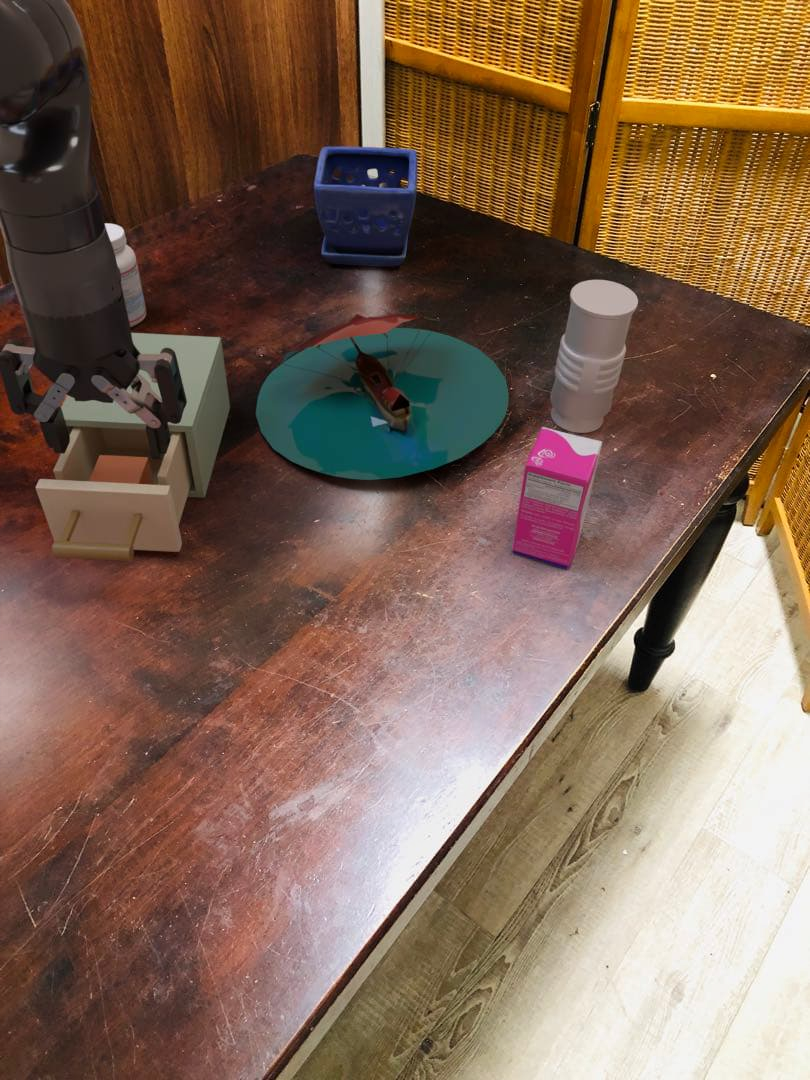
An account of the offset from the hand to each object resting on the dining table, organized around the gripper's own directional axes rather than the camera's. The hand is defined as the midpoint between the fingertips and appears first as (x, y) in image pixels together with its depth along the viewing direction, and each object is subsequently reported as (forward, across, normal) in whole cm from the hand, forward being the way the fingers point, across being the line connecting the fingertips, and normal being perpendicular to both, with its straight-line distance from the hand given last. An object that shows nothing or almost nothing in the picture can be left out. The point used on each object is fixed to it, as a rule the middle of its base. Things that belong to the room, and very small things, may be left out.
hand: (111, 450), depth 78 cm
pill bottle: (+9, -10, +35) cm, 38 cm away
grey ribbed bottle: (+9, +45, +20) cm, 50 cm away
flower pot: (+9, +19, +55) cm, 59 cm away
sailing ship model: (+9, +23, +20) cm, 32 cm away
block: (+7, 0, 0) cm, 7 cm away
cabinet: (+9, 0, +11) cm, 14 cm away
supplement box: (+9, +40, 0) cm, 41 cm away
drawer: (+8, 0, 0) cm, 8 cm away
